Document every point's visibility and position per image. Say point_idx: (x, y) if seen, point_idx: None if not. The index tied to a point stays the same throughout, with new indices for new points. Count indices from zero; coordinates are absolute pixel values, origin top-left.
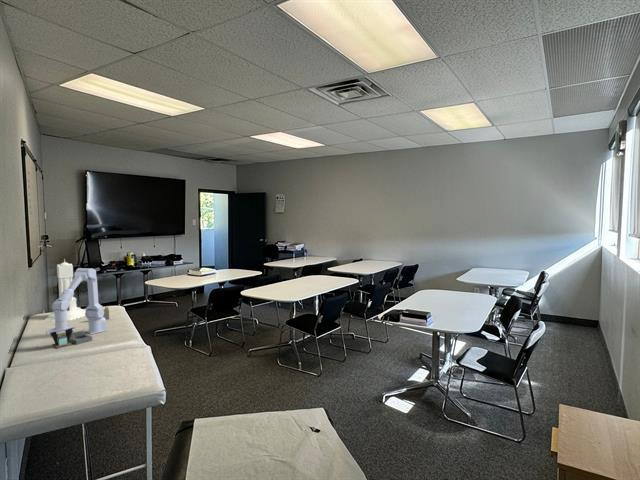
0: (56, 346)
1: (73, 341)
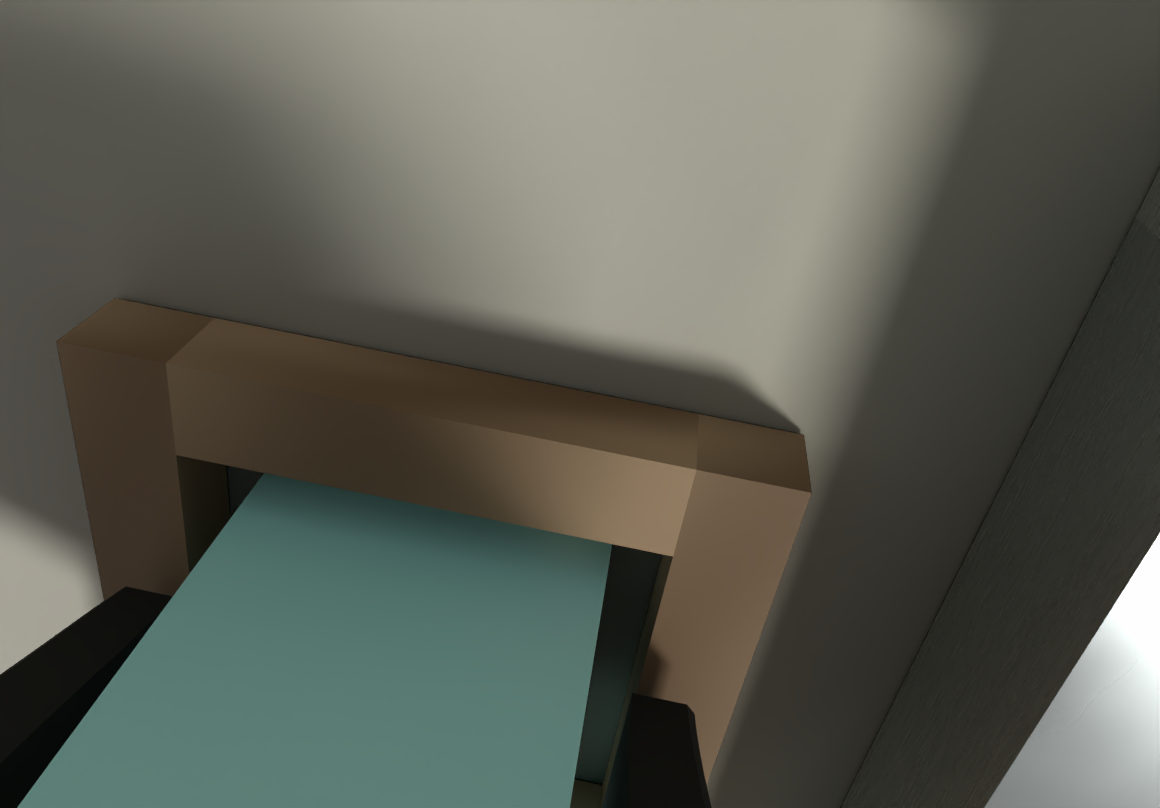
0: None
1: (894, 777)
